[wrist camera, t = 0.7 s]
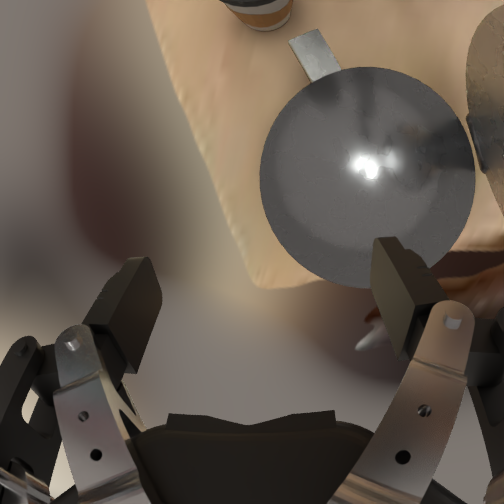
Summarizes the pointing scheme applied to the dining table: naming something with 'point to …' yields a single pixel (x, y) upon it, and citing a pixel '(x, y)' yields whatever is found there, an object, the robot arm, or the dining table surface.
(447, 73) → the dining table surface
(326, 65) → the cooking pot
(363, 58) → the dining table surface
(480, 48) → the lid
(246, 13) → the coffee cup
